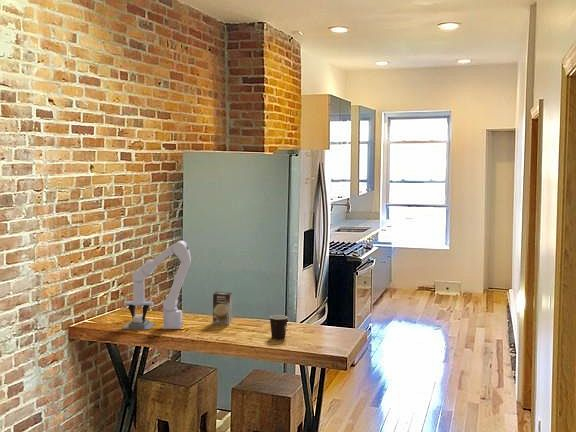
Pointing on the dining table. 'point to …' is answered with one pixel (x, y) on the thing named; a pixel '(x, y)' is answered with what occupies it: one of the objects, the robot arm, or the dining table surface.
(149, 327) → the slot holder
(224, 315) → the coffee box
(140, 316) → the steel block
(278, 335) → the coffee mug
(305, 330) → the dining table surface
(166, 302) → the robot arm
